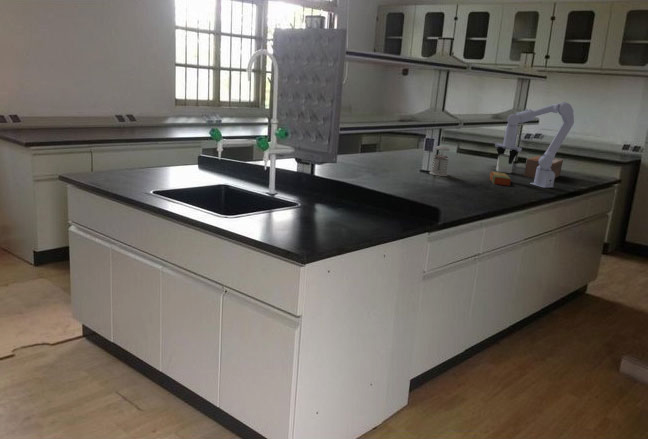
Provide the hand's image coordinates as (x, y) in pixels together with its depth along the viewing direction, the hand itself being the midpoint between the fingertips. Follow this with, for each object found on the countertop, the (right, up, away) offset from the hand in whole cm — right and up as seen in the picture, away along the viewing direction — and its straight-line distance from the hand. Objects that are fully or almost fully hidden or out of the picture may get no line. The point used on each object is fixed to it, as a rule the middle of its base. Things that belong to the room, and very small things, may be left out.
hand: (505, 162), depth 308 cm
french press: (-36, -6, 0) cm, 36 cm away
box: (0, -2, +1) cm, 2 cm away
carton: (-4, -11, -4) cm, 13 cm away
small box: (+8, -3, +29) cm, 31 cm away
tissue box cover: (+31, -5, +29) cm, 43 cm away
